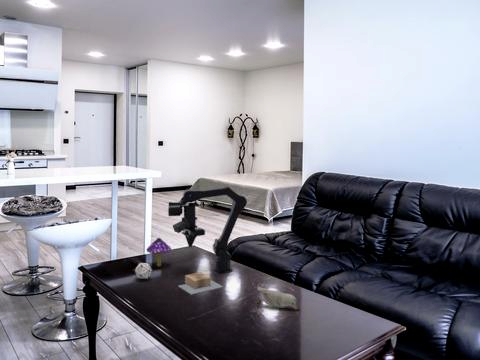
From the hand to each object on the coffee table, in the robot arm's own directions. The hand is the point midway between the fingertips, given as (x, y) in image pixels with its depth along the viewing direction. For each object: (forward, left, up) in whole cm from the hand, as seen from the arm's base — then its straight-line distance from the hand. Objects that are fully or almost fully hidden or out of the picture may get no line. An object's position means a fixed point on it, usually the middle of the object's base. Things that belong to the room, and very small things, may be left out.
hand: (190, 246), depth 201 cm
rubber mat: (+6, +20, -13) cm, 25 cm away
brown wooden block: (+6, +13, -11) cm, 18 cm away
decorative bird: (-8, +56, -13) cm, 59 cm away
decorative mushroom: (+9, -18, -13) cm, 24 cm away
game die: (+23, -4, -13) cm, 26 cm away
